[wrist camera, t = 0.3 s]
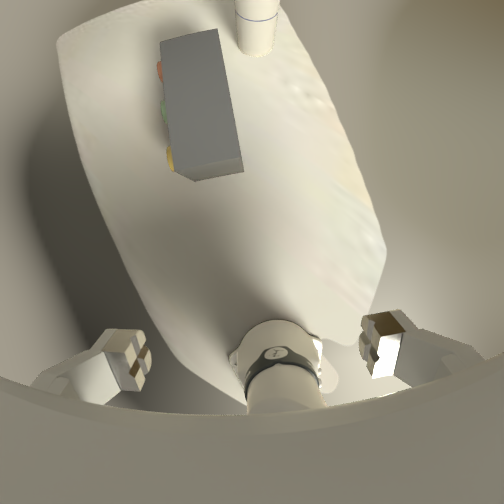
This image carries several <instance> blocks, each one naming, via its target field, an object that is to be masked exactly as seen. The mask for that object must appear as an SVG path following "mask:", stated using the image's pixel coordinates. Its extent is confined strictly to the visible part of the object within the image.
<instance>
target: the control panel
mask: <svg viewBox="0 0 504 504" xmlns="http://www.w3.org/2000/svg"><path fill="white" fill-rule="evenodd" d="M160 51H161V64H162V76H163V87H164V97H165V106H166V114H167V123H168V131H169V138H170V146H171V153H172V159H173V166H174V171H175V172H177V173H179V174H181V175H183V176H185V177H187V178H189V179H191V180H193V181H200V180H204V179H209V178H214V177H219V176H224V175H229V174H235V173H240V172H244V169H243V163H242V157H241V152H240V146H239V141H238V136H237V130H236V125H235V119H234V114H233V109H232V103H231V98H230V92H229V87H228V82H227V76H226V71H225V66H224V61H223V55H222V50H221V45H220V40H219V34H218V29H212V30H207V31H202V32H197V33H193V34H189V35H185V36H181V37H177V38H173V39H169V40H166V41H162V42H160Z"/></svg>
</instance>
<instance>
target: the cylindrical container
mask: <svg viewBox="0 0 504 504" xmlns="http://www.w3.org/2000/svg"><path fill="white" fill-rule="evenodd" d="M234 1H235V13H236V26H237V38H238V47H239V49H240V51H241V52H242V53H243V54H245V55H247V56H251V57H261V56H265V55H267V54H268V53H270V52H271V51H272V49H273V46H274V39H275V32H276V25H277V18H278V11H279V4H280V0H234Z"/></svg>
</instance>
